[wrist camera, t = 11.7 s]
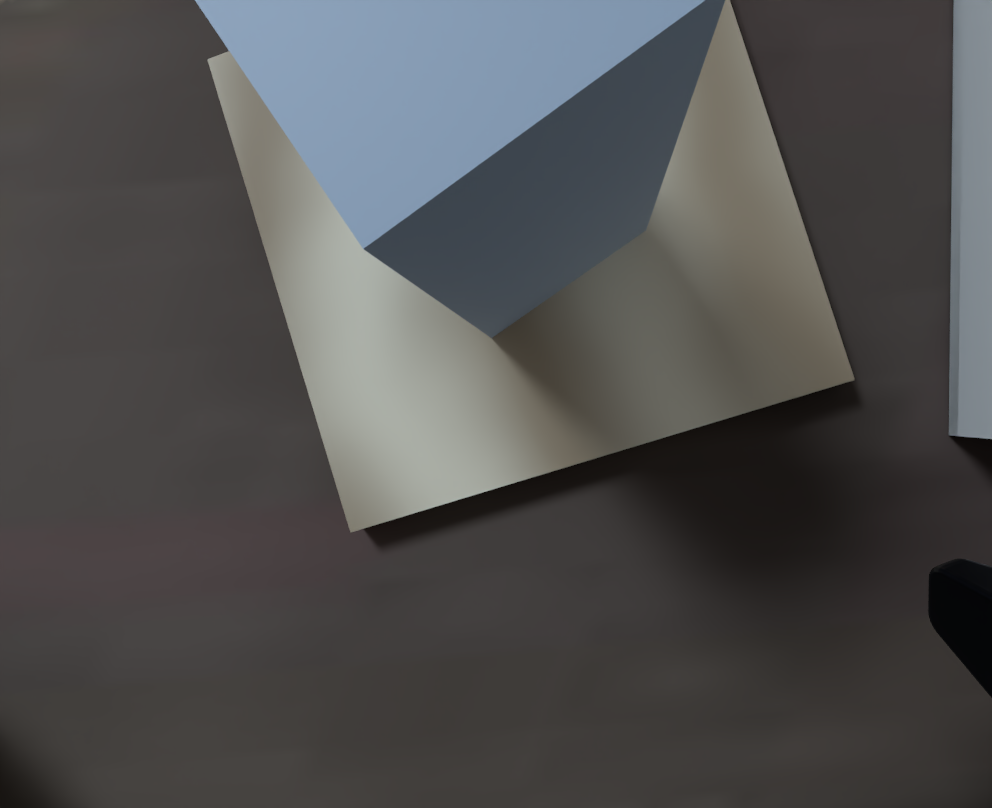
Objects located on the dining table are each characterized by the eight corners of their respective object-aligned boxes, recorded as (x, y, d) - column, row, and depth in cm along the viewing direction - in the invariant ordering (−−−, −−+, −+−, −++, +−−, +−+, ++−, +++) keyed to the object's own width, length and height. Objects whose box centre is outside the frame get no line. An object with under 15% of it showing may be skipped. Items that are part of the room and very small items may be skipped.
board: (683, -102, 21) (687, -127, 20) (841, 381, 21) (854, 379, 20) (224, 74, 23) (207, 59, 22) (361, 526, 22) (350, 532, 21)
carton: (651, 226, 20) (744, -29, 8) (491, 338, 21) (363, 248, 9) (544, 76, 21) (487, -378, 9) (390, 189, 21) (133, -91, 9)
